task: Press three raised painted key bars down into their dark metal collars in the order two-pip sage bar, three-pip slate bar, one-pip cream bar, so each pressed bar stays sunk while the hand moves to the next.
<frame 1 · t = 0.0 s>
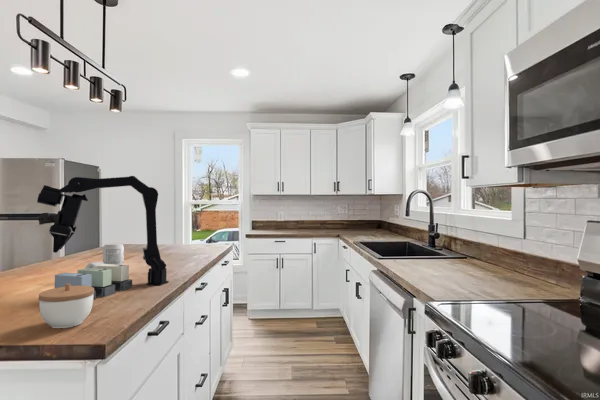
hand: (57, 250, 127), 15 cm above the counter, tool pointing down, fingers open, 9 cm apart
grey angular block: (95, 282, 145), on the counter
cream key: (113, 272, 135), point 6 cm above the counter, slide at 3.0 cm
sage key: (94, 276, 126), point 6 cm above the counter, slide at 3.0 cm
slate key: (73, 282, 117), point 6 cm above the counter, slide at 3.0 cm
supplement can: (113, 278, 153), on the counter
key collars: (94, 293, 126), on the counter
lidded bowl: (67, 324, 95), on the counter
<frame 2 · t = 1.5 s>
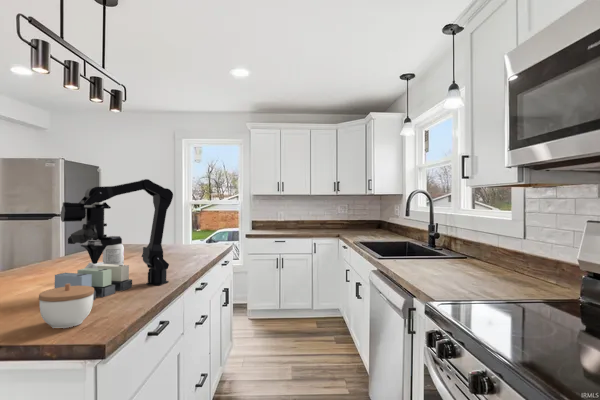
hand: (94, 263, 126), 11 cm above the counter, tool pointing down, fingers closed
nothing on the counter moved.
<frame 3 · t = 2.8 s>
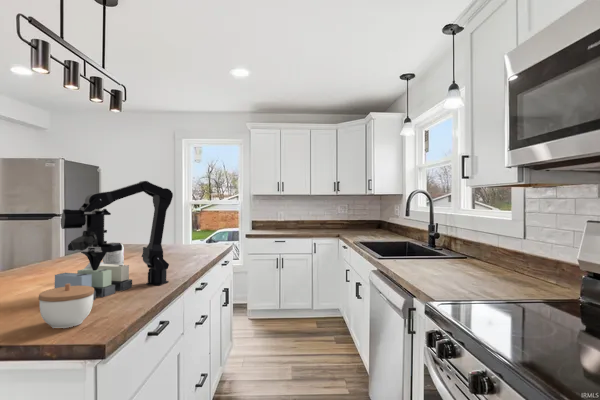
hand: (94, 270, 126), 9 cm above the counter, tool pointing down, fingers closed, pressing on sage key
sage key: (94, 277, 126), point 6 cm above the counter, slide at 2.8 cm, touching gripper
everything else where it was.
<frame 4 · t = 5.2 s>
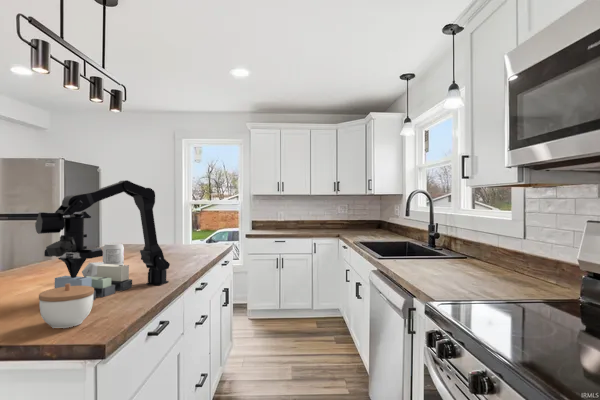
hand: (73, 277, 117), 8 cm above the counter, tool pointing down, fingers closed, pressing on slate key
sage key: (94, 285, 126), point 3 cm above the counter, slide at -0.1 cm
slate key: (73, 285, 117), point 5 cm above the counter, slide at 1.9 cm, touching gripper
everything else where it was.
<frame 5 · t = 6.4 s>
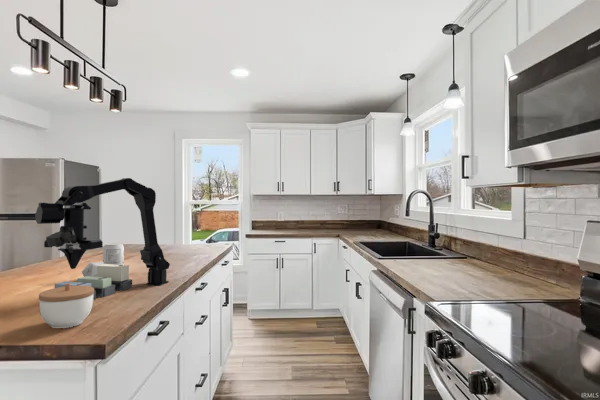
hand: (73, 268, 117), 11 cm above the counter, tool pointing down, fingers closed
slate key: (73, 291, 117), point 3 cm above the counter, slide at -0.1 cm
everything else where it was.
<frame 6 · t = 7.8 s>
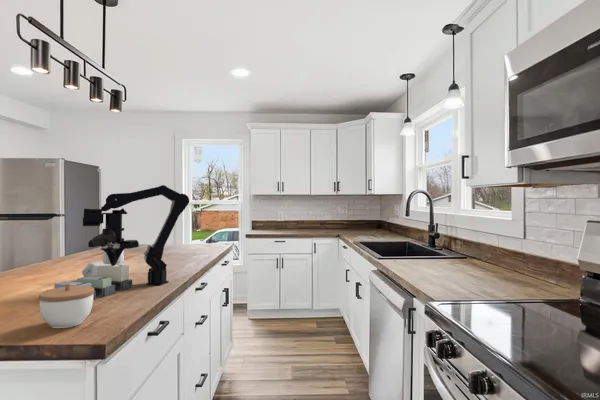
hand: (113, 265, 135), 9 cm above the counter, tool pointing down, fingers closed, pressing on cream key
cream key: (113, 272, 135), point 6 cm above the counter, slide at 2.9 cm, touching gripper
everything else where it was.
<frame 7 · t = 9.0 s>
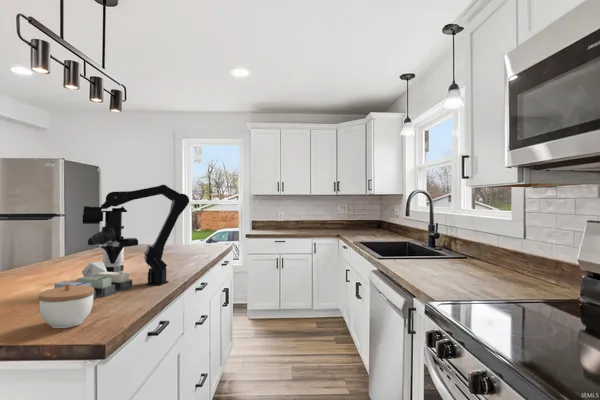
hand: (112, 263, 135), 10 cm above the counter, tool pointing down, fingers closed
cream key: (112, 280, 135), point 3 cm above the counter, slide at -0.1 cm
everything else where it was.
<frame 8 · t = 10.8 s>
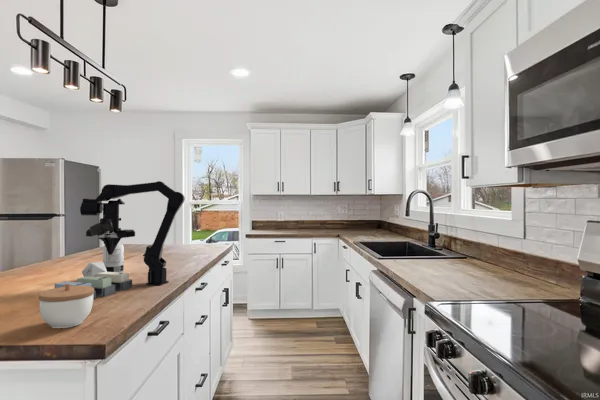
hand: (110, 254, 139), 12 cm above the counter, tool pointing down, fingers closed
nothing on the counter moved.
at the end: sage key slide at -0.1 cm; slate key slide at -0.1 cm; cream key slide at -0.1 cm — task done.
